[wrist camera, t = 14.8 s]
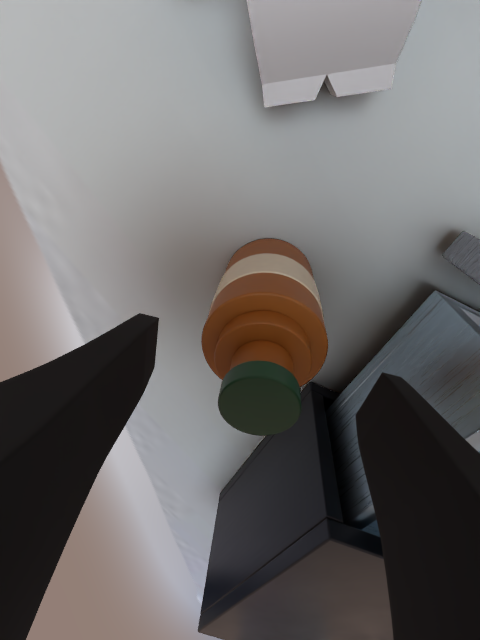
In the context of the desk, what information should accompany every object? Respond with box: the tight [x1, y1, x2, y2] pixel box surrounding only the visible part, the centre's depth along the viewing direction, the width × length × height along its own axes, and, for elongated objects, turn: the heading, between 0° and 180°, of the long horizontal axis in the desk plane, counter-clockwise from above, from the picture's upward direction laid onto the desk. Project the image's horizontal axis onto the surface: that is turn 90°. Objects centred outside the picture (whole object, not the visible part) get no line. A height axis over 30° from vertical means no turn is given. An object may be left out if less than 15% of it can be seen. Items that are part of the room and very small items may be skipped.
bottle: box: [202, 239, 328, 435], centre depth 12 cm, size 4×4×8 cm
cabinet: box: [198, 382, 393, 640], centre depth 20 cm, size 15×15×9 cm
